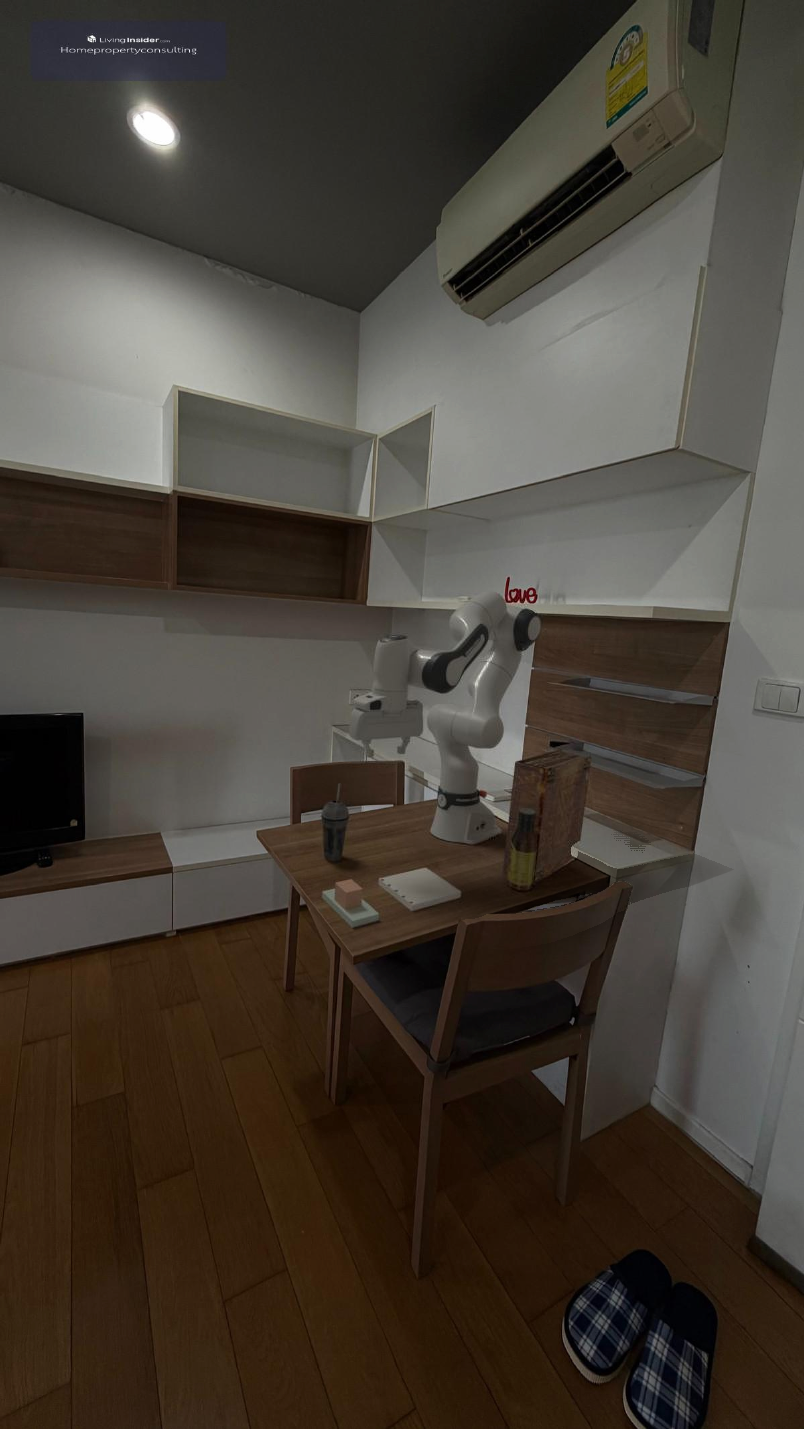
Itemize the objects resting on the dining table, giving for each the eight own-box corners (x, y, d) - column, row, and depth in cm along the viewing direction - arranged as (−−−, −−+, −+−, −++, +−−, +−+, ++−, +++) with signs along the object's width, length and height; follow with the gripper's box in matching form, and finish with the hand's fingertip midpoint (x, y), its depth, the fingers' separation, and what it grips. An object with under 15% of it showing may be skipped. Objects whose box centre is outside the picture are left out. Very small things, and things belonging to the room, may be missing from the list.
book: (548, 848, 168) (561, 748, 163) (578, 858, 162) (592, 755, 157) (502, 872, 149) (514, 761, 144) (533, 885, 143) (548, 770, 138)
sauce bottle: (514, 877, 147) (522, 803, 143) (536, 886, 143) (545, 810, 139) (501, 886, 142) (510, 809, 138) (524, 895, 138) (533, 816, 134)
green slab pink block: (346, 891, 133) (348, 869, 132) (378, 920, 122) (380, 896, 121) (321, 897, 129) (323, 874, 128) (352, 927, 118) (353, 903, 117)
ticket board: (425, 873, 146) (425, 867, 145) (460, 897, 134) (461, 891, 134) (378, 884, 138) (378, 878, 137) (411, 911, 126) (412, 904, 126)
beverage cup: (313, 858, 149) (316, 785, 146) (329, 849, 155) (333, 778, 152) (336, 866, 146) (340, 790, 142) (352, 856, 152) (356, 784, 149)
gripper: (416, 697, 150) (412, 749, 152) (347, 699, 139) (344, 755, 141) (430, 701, 145) (426, 754, 147) (360, 704, 133) (356, 761, 136)
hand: (385, 755), depth 144 cm, fingers open, 8 cm apart
